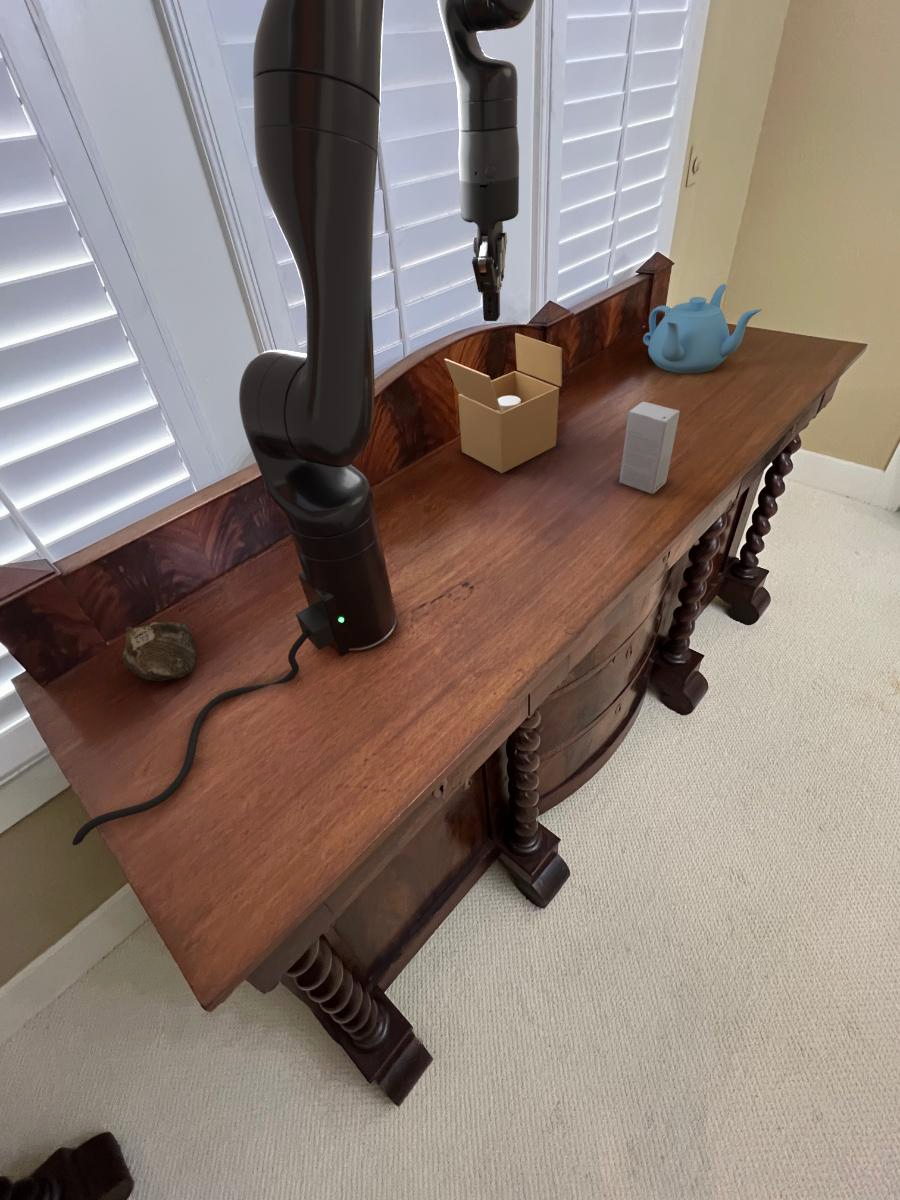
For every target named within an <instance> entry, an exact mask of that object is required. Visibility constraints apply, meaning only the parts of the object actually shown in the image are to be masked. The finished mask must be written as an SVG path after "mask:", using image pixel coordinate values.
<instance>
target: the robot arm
mask: <svg viewBox="0 0 900 1200" xmlns="http://www.w3.org/2000/svg"><path fill="white" fill-rule="evenodd" d="M534 2H535V0H437V5H438V9H439V10H438V11H439V15H440V19H441V22H442V26H443V30H444V33H445V37H446V42H447V45H448V50H449V54H450V58H451V64H452V68H453V72H454V77H455V83H456V90H457V108H458V109H457V110H458V129H459V132H458V133H459V135H458V136H459V138H458V174H459V175H458V176H459V197H460V199H459V201H460V216H461V219H462V220H463V221H464V222H467V223H470V224H471V223H474V224H475V225H476V227H477V229H476V237H473V238H472V239H473V240H472V244H473V245H472V246H473V247H472V248H473V249H472V250H473V253H474V255H475V256H473V257H472V260H471V264H472V269H473V273H474V278H475V282H476V286H477V290H478V291H477V292H478V293H481V294H482V312H483V313H482V319H483V321H485V322H497V321H498V320H499V319H500V316H501V289H502V287H503V283H502V282H503V281H504V278H505V273H504V272H505V268H506V254H507V244H508V234H507V233H508V232H504V225H503V222H507V221H508V222H509V221H511V220H513V219H515V218H516V217H517V216H518V215H519V211H520V210H519V207H520V205H519V204H520V199H519V197H520V189H519V188H520V143H519V142H520V141H519V134H518V95H519V93H518V91H519V90H518V88H519V86H518V84H519V83H518V82H519V81H518V79H519V78H518V72H517V68H516V66H515V64H513V63H512V62H510V61H507V60H504V59H499V58H494V57H490V56H488V55H487V54H485V52H484V51H483V49H482V46H481V44H480V40H479V37H478V33H484V32H492V31H503V30H509V29H512V28H516V27H517V26H519V25H520V24H522V23H523V22H524V20H526V19H527V17H528V15H529V14H530V12H531V10H532V8H533V5H534ZM384 11H385V0H266V1H265V4H264V7H263V10H262V15H261V17H260V21H259V24H258V27H257V30H256V31H257V32H256V35H255V41H254V47H253V55H252V56H253V59H252V61H253V62H252V63H253V64H252V80H253V84H252V85H253V125H254V126H253V127H254V133H253V134H254V135H253V136H254V151H255V160H256V165H257V170H258V174H259V177H260V181H261V184H262V187H263V190H264V192H265V195H266V199H267V200H268V203H269V206H270V208H271V211H272V213H273V215H274V217H275V220H276V222H277V225H278V226H279V229H280V231H281V233H282V235H283V238H284V240H285V242H286V245H287V246H288V248H289V251H290V253H291V256H292V259H293V261H294V264H295V267H296V269H297V272H298V276H299V279H300V283H301V288H302V293H303V299H304V308H305V322H306V323H305V324H306V325H305V326H306V353H304V352H299V351H293V350H292V351H291V350H285V349H271V350H265V351H263V352H261V353H259V354H257V355H256V356H254V357H253V358H252V359H251V360H250V362H249V363H248V364H247V366H246V367H245V369H244V371H243V373H242V376H241V379H240V385H239V389H238V390H239V391H238V392H239V393H238V403H239V405H238V406H239V413H240V419H241V424H242V427H243V430H244V433H245V437H246V439H247V442H248V444H249V447H250V450H251V452H252V454H253V456H254V457H253V458H254V459H255V462H256V465H257V467H258V470H259V472H260V475H261V477H262V480H263V482H264V485H265V487H266V490H267V492H268V494H269V496H270V498H271V499H272V501H273V502H274V504H275V505H276V506H277V507H278V508H279V510H280V511H282V513H283V515H284V516H285V520H286V523H287V525H288V529H289V532H290V535H291V538H292V541H293V544H294V547H295V551H296V554H297V557H298V560H299V563H300V566H301V569H302V571H300V572H298V578H299V582H300V584H301V588H302V591H303V593H304V597H305V599H306V602H307V605H308V607H306V608H303V609H302V610H300V611H298V612H296V613H295V616H296V618H297V621H298V624H299V627H300V629H301V630H300V631H301V632H302V633H301V634H300V636H299V637H297V639H296V640H295V642H294V643H293V644H292V646H291V648H290V650H289V652H288V657H287V660H288V664H289V666H290V667H291V670H290V671H289V672H288V674H286V675H285V676H284V677H282V678H280V679H278V680H277V681H274V682H272V683H271V682H270V683H265V684H257V685H249V686H243V687H237V688H234V689H230V690H227V691H224V692H222V693H220V694H218V695H217V696H215V697H214V698H213V699H211V700H210V701H209V702H208V703H206V705H205V706H204V707H202V709H201V710H200V712H199V713H198V715H197V716H196V718H195V720H194V722H193V725H192V727H191V730H190V733H189V734H190V735H189V738H188V744H187V749H186V753H185V758H184V761H183V764H182V767H181V768H180V771H179V773H178V775H177V776H176V778H175V779H174V781H173V782H172V783H170V785H169V786H168V787H167V788H166V789H165V790H163V792H161V793H160V794H159V795H157V796H155V797H154V798H152V799H149V800H147V801H145V802H141V803H139V804H136V805H132V806H129V807H125V808H120V809H117V810H113V811H110V812H106V813H103V814H100V815H98V816H96V817H94V818H92V819H90V820H89V821H87V822H86V823H84V824H83V825H82V826H81V827H80V829H78V830H77V832H76V833H75V836H74V838H73V839H72V842H71V843H72V845H73V846H77V845H80V844H81V843H82V842H83V841H84V839H85V838H86V836H87V835H88V834H89V833H90V832H91V831H92V830H94V829H95V828H97V827H98V826H101V825H102V824H105V823H108V822H111V821H114V820H117V819H122V818H125V817H131V816H133V815H137V814H140V813H143V812H145V811H148V810H151V809H153V808H155V807H157V806H159V805H161V804H162V803H165V801H167V800H168V799H169V798H170V797H171V796H172V795H174V793H176V791H177V790H178V789H179V788H180V787H181V786H182V784H183V783H184V781H185V780H186V778H187V777H188V774H189V773H190V770H191V768H192V765H193V763H194V758H195V754H196V750H197V744H198V738H199V734H200V730H201V727H202V725H203V722H204V720H205V719H206V717H207V716H208V715H209V713H210V712H211V711H213V709H214V708H215V707H216V706H218V705H219V704H220V703H221V702H223V701H225V700H228V699H230V698H233V697H236V696H241V695H244V694H248V693H251V692H255V691H258V690H260V689H263V688H265V687H268V686H273V685H280V684H285V683H287V682H290V681H292V680H293V679H294V678H295V677H296V676H297V675H298V674H299V670H300V665H299V663H298V661H297V660H296V655H297V653H298V651H299V649H300V648H301V647H302V645H303V644H305V642H306V641H307V640H309V642H311V643H312V645H313V646H314V647H315V648H316V650H318V651H321V650H322V649H324V648H325V647H327V646H330V647H331V648H332V650H334V651H335V652H336V653H337V654H338V656H339V657H344V656H346V655H348V654H352V653H355V654H357V653H363V652H367V651H371V650H373V649H375V648H378V647H379V646H381V645H383V644H384V643H386V642H387V641H388V640H389V639H390V638H391V637H392V636H393V634H394V633H395V631H396V629H397V626H398V615H397V611H396V606H395V602H394V598H393V593H392V588H391V582H390V579H389V578H390V577H389V573H388V568H387V562H386V557H385V552H384V548H383V541H382V537H381V531H380V526H379V521H378V516H377V511H376V506H375V501H374V495H373V492H372V487H371V483H370V481H369V480H368V478H367V477H366V476H365V474H363V473H362V472H361V471H360V470H359V469H357V468H356V467H354V466H353V464H354V463H355V462H356V461H358V459H360V457H361V456H362V454H363V453H364V452H365V449H366V448H367V445H368V443H369V440H370V436H371V432H372V428H373V424H374V423H373V422H374V415H375V401H376V400H375V398H376V397H375V395H376V394H375V393H376V389H375V386H376V385H375V355H374V354H375V353H374V329H373V328H374V327H373V299H372V297H373V296H372V294H373V293H372V292H373V291H372V290H373V288H372V287H373V285H372V284H373V248H374V247H373V244H374V217H375V197H376V183H377V174H378V173H377V172H378V161H379V141H380V140H379V139H380V120H381V102H382V101H381V99H382V97H381V94H382V93H381V92H382V51H383V32H384Z"/></svg>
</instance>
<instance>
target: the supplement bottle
mask: <svg viewBox="0 0 900 1200" xmlns="http://www.w3.org/2000/svg"><path fill="white" fill-rule="evenodd" d="M498 402H499V405H500V408H501V410H500V411H499V410H497V411H498V412H501V413H502V412H504V411H506V410H508V409H510V408H513V407H515V406H517V405H519V404H521V400H520V398H519V397H516V396H503V397H500V398H499V399H498Z"/></svg>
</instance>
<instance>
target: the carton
mask: <svg viewBox="0 0 900 1200" xmlns="http://www.w3.org/2000/svg"><path fill="white" fill-rule="evenodd" d="M514 340H515V341H514V343H515V359H516V370H517V371H516V370H513V371H511V372H509V373H507V374H504V375H501V376H499V377H497V378H495V379H491V382H492V385H493V388H494V391H495V393H496V396H497V399H499V398H500V397H503V396H516V397H519V398H520V400H521V404H519V405H517V406H515V407H513V408H510V409H508V410H506V411H504V412H502V413H501V412H498V411H497V409H494V408H492V407H490V406H488V405H486V404H483V403H481V402H479V401H477V400H475V399H472V398H470V397H468V396H466V395H464V394H461V393H459V394H458V395H457V397H458V398H457V399H458V400H457V401H458V412H459V413H458V414H459V415H458V416H459V427H460V429H459V430H460V444H461V452H462V453H464V454H466V455H467V456H469V457H471V458H472V459H474V460H476V461H478V462H480V463H482V464H483V465H485V466H487V467H489V468H491V469H493V470H495V471H497V472H498V473H500V474H504V473H505V472H508V471H509V470H511V469H513V468H515V467H517V466H519V465H522V464H523V463H525V462H527V461H529V460H531V459H532V458H535V457H537V456H539V455H540V454H542V453H544V452H546V451H548V450H551V449H552V448H554V447H556V446H557V434H558V433H557V432H558V431H557V430H558V417H559V416H558V413H559V397H560V396H559V395H560V394H559V393H560V387H562V386H563V348H562V347H560V346H557V345H554V344H551V343H547V342H544V341H542V340H538V339H536V338H533V337H529V336H526V335H524V334H521V333H517V332H515V333H514Z"/></svg>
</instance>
